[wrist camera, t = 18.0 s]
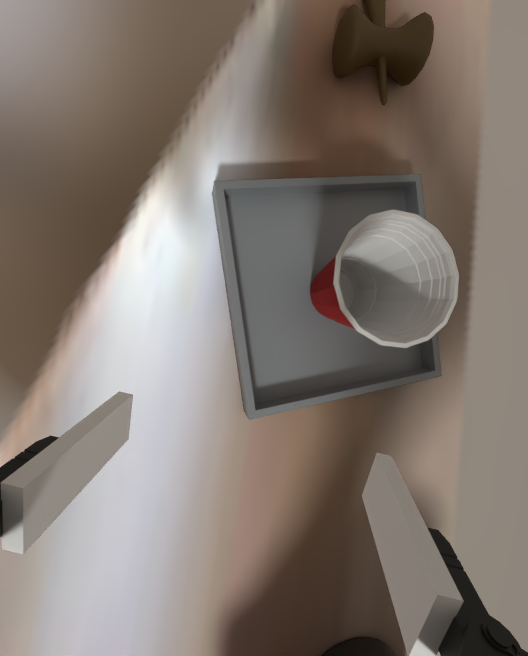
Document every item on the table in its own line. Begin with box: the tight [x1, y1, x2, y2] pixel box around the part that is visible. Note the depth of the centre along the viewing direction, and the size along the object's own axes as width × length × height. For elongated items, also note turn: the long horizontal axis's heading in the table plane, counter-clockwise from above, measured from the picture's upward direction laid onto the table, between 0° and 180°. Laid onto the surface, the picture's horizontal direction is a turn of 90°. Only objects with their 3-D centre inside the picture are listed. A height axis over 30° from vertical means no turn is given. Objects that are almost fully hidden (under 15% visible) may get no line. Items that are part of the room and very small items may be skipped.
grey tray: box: [212, 174, 442, 420], centre depth 34 cm, size 24×24×3 cm
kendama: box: [333, 0, 434, 105], centre depth 33 cm, size 6×10×20 cm
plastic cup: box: [310, 210, 459, 348], centre depth 28 cm, size 11×11×12 cm
